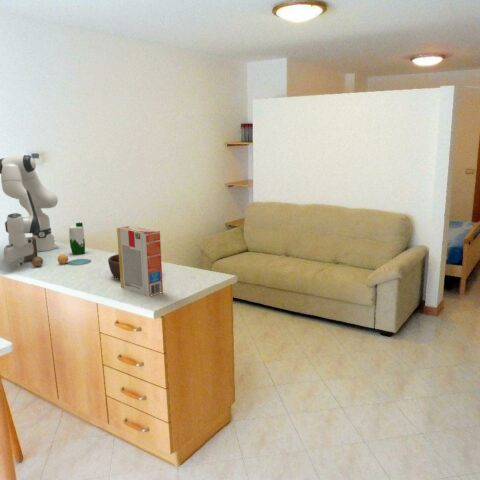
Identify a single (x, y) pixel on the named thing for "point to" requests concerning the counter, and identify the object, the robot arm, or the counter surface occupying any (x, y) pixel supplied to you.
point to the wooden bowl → (114, 265)
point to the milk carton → (77, 239)
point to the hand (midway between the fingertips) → (20, 265)
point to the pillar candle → (30, 257)
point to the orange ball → (62, 258)
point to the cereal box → (140, 260)
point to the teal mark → (79, 262)
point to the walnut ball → (37, 261)
